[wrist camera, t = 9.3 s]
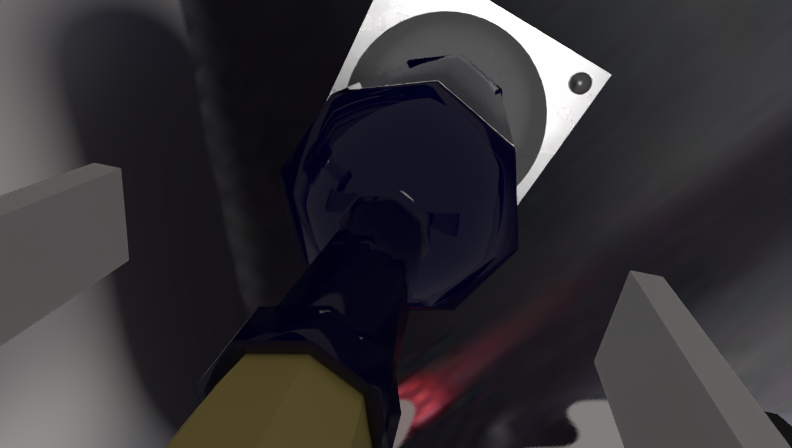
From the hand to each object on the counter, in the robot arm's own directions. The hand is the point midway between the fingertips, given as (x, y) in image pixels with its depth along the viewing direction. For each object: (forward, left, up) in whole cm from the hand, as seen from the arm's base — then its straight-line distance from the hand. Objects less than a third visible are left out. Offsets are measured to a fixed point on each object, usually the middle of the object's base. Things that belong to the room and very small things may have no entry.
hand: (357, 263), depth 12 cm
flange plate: (0, 0, -24) cm, 24 cm away
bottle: (0, 0, -23) cm, 23 cm away
